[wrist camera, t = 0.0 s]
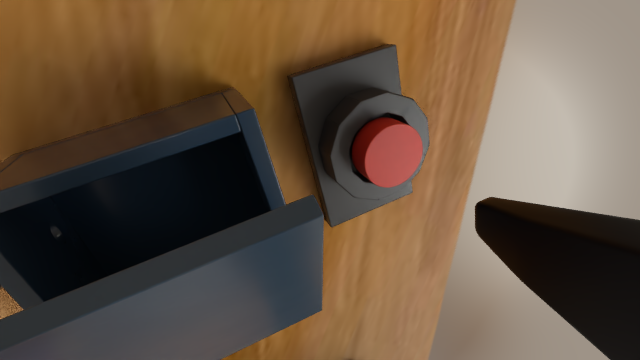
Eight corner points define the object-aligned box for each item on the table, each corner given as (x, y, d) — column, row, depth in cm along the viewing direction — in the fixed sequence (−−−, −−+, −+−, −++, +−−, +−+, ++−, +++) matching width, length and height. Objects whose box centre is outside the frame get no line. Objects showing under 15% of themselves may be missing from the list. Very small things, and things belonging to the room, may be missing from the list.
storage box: (10, 155, 17) (-68, 213, 12) (233, 86, 20) (254, 107, 14) (124, 310, 22) (107, 399, 17) (287, 241, 25) (317, 299, 20)
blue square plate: (-248, 417, 6) (-263, 461, 6) (313, 193, 9) (324, 215, 9) (105, 399, 17) (107, 415, 17) (317, 298, 19) (322, 310, 19)
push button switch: (410, 185, 27) (434, 201, 25) (326, 221, 26) (342, 242, 23) (393, 41, 22) (422, 43, 19) (286, 75, 20) (302, 81, 18)
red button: (409, 164, 23) (425, 174, 21) (357, 186, 22) (370, 197, 21) (403, 108, 21) (420, 114, 20) (345, 129, 20) (359, 137, 19)
